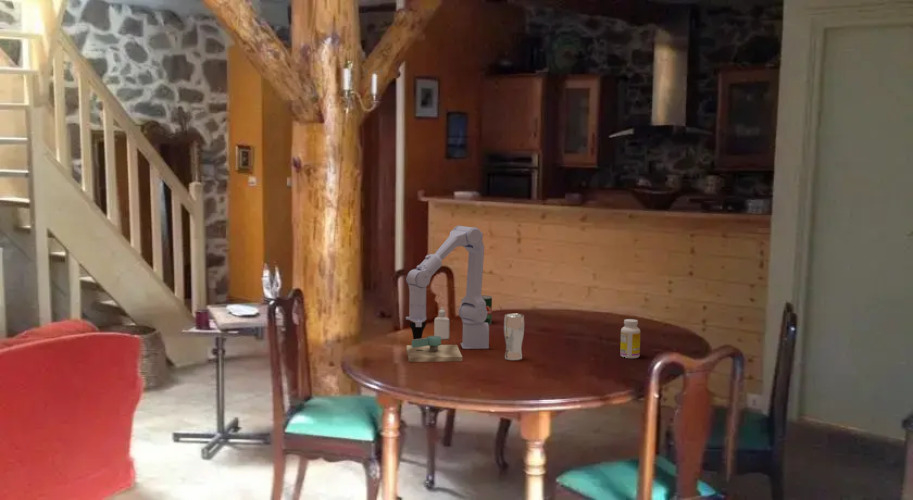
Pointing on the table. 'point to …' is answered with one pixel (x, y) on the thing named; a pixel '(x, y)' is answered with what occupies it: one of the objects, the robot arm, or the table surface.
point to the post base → (434, 353)
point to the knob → (427, 341)
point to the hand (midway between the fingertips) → (417, 343)
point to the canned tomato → (488, 308)
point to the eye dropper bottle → (441, 325)
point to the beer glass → (513, 335)
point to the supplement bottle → (630, 339)
